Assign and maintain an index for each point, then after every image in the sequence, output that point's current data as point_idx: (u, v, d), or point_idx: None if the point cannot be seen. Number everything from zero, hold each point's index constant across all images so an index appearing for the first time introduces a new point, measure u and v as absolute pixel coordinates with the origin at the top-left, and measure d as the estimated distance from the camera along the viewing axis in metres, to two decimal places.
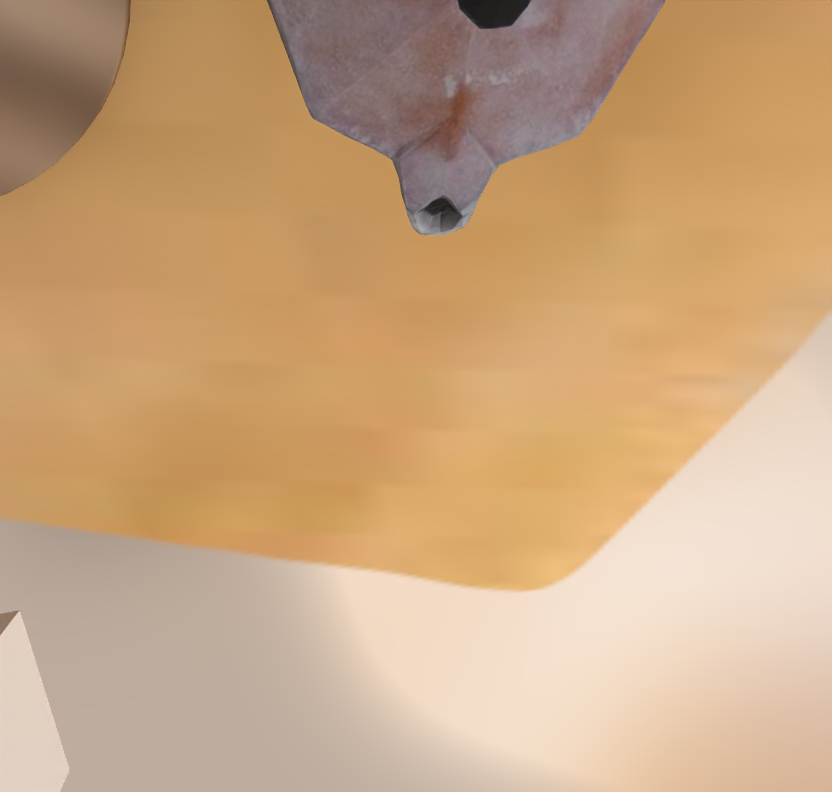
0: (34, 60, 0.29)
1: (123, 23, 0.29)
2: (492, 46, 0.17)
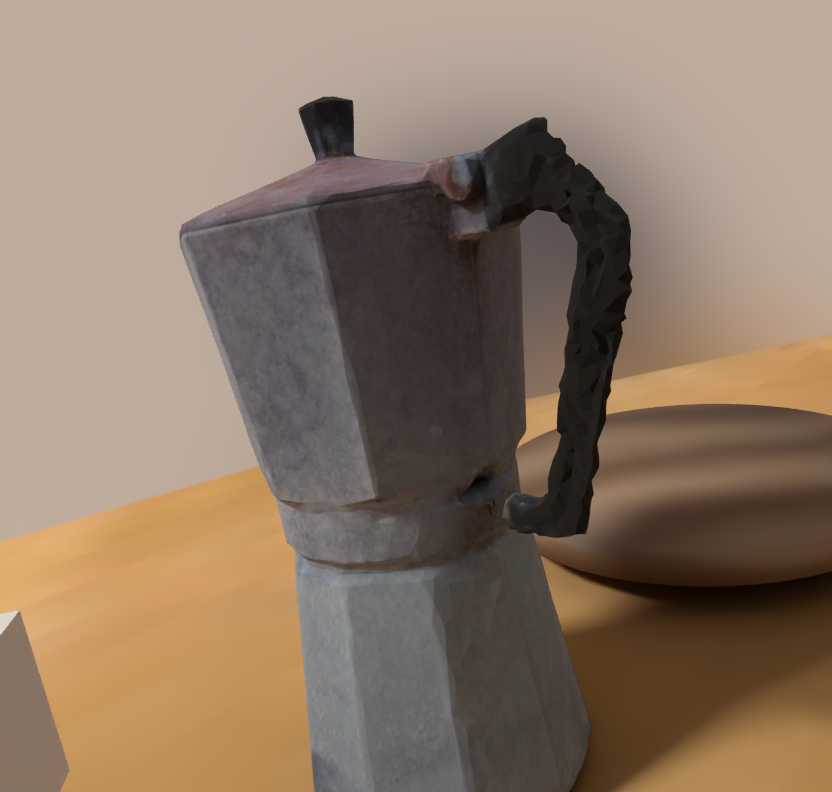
0: None
1: None
2: None
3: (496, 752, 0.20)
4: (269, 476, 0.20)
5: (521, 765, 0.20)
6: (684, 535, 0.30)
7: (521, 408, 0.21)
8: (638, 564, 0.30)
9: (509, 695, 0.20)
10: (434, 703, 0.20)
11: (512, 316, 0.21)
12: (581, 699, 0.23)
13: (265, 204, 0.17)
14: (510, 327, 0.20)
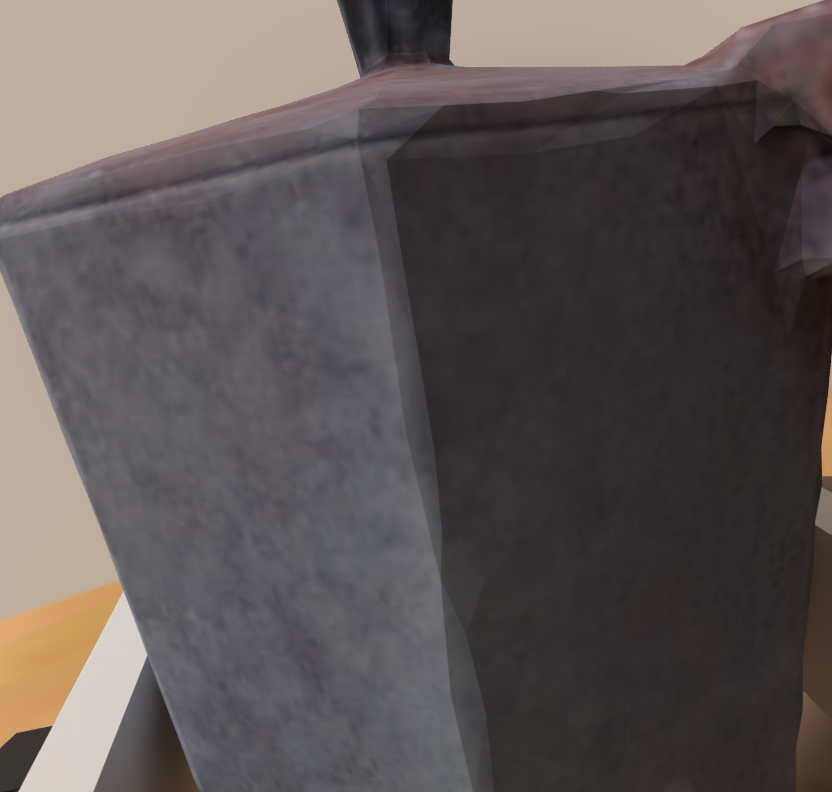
0: None
1: None
2: None
3: None
4: None
5: None
6: None
7: None
8: None
9: None
10: None
11: None
12: None
13: (218, 140, 0.05)
14: None
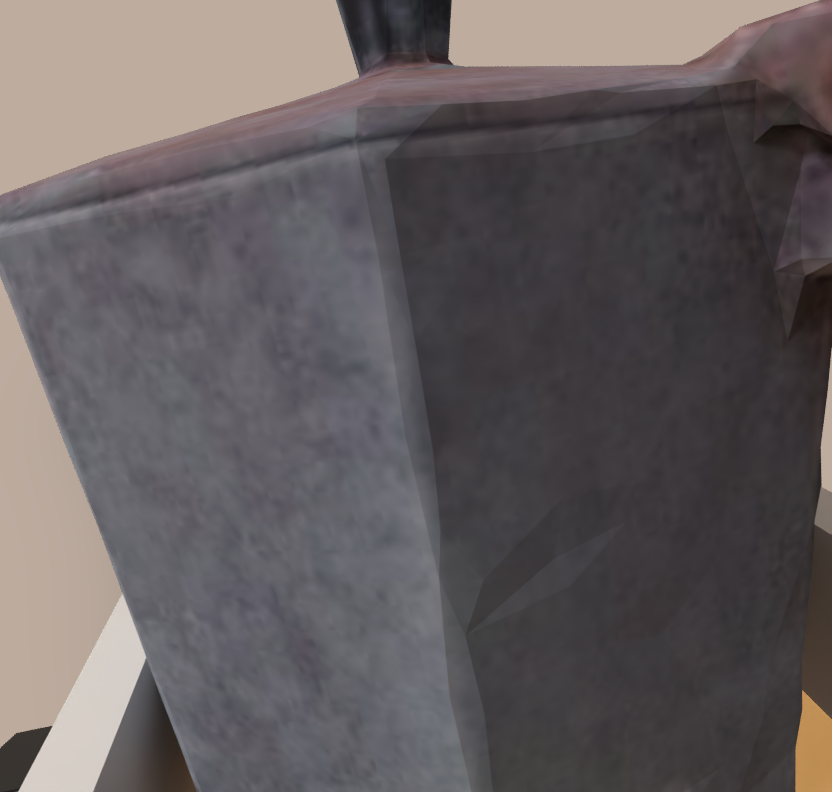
0: None
1: None
2: None
3: None
4: None
5: None
6: None
7: None
8: None
9: None
10: None
11: None
12: None
13: (216, 139, 0.05)
14: None
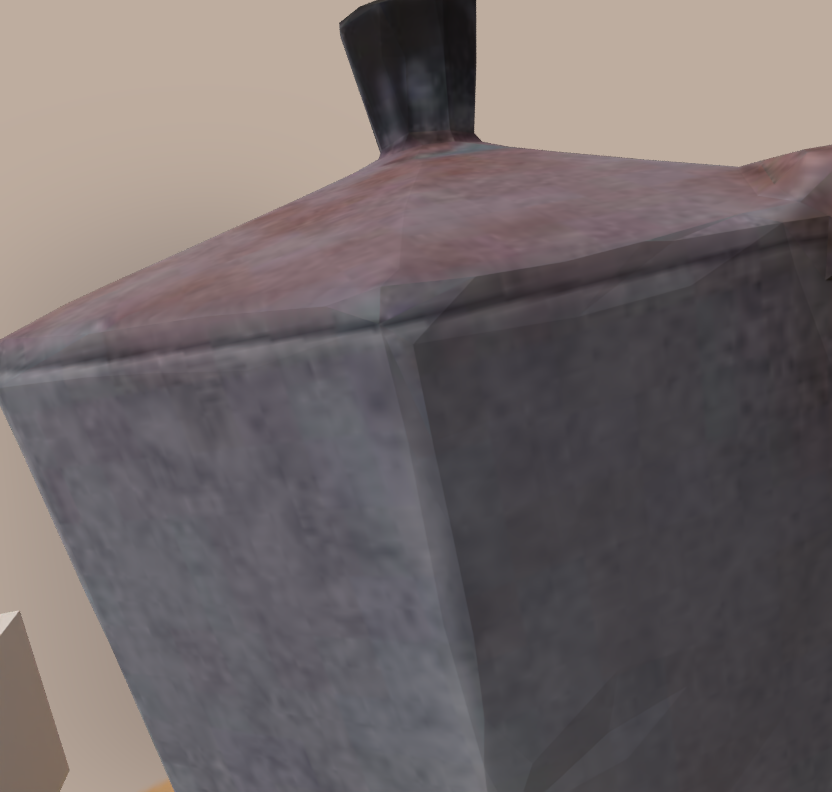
0: None
1: None
2: None
3: None
4: None
5: None
6: None
7: None
8: None
9: None
10: None
11: None
12: None
13: (228, 303, 0.05)
14: None
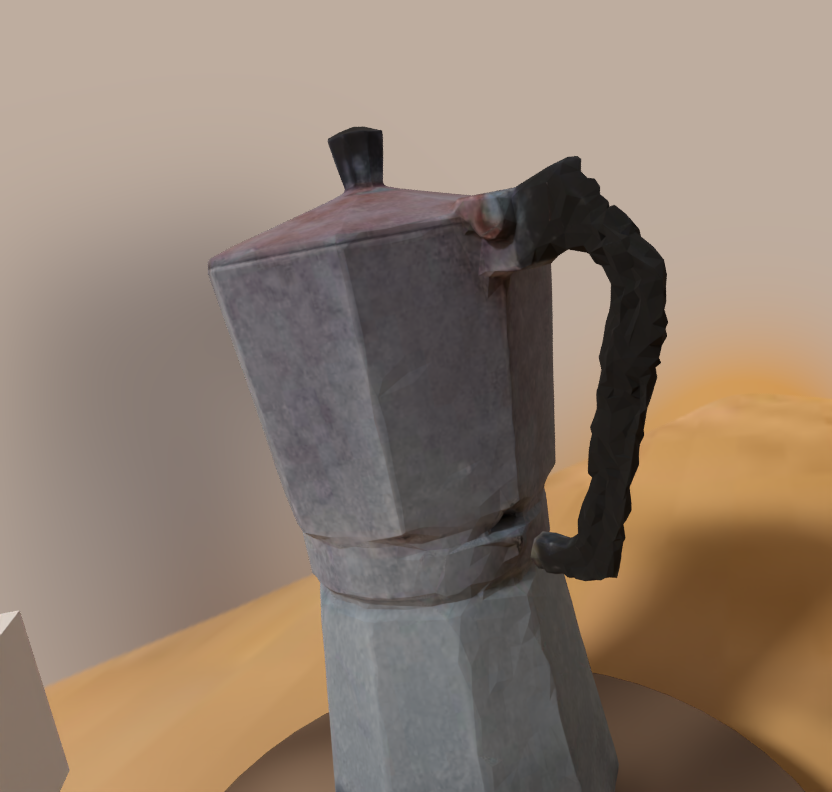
0: None
1: None
2: None
3: None
4: (295, 509, 0.20)
5: None
6: None
7: (550, 441, 0.21)
8: None
9: (535, 734, 0.20)
10: (459, 741, 0.19)
11: (543, 348, 0.20)
12: (609, 736, 0.23)
13: (293, 241, 0.17)
14: (540, 360, 0.20)
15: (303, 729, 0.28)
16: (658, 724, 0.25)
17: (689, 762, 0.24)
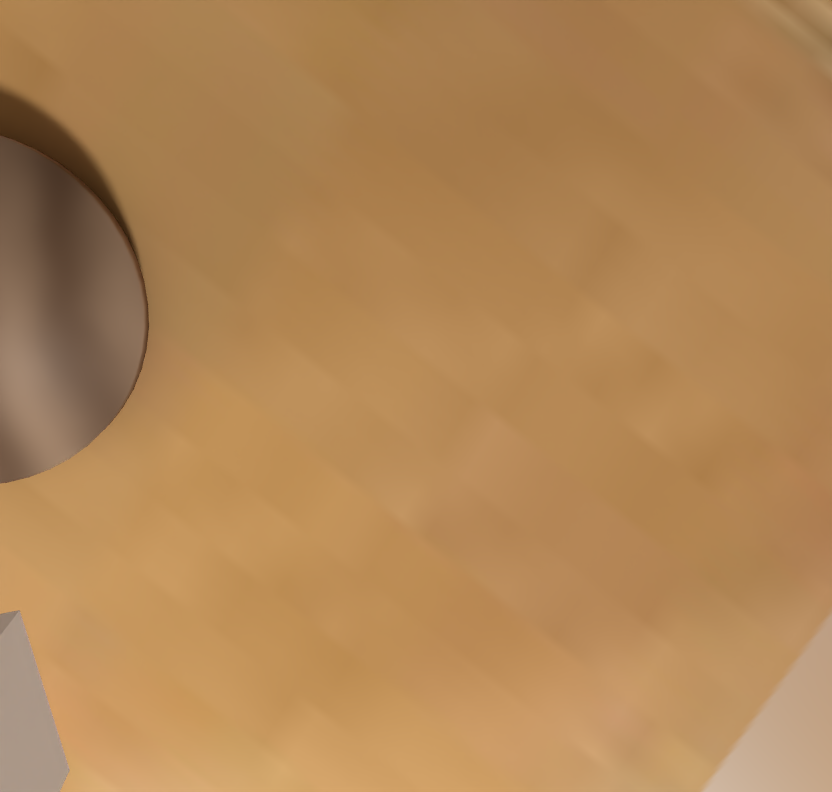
0: (2, 435, 0.42)
1: (70, 457, 0.42)
2: None
3: None
4: None
5: None
6: (110, 357, 0.41)
7: None
8: (130, 391, 0.43)
9: None
10: None
11: None
12: None
13: None
14: None
15: None
16: None
17: None
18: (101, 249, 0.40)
